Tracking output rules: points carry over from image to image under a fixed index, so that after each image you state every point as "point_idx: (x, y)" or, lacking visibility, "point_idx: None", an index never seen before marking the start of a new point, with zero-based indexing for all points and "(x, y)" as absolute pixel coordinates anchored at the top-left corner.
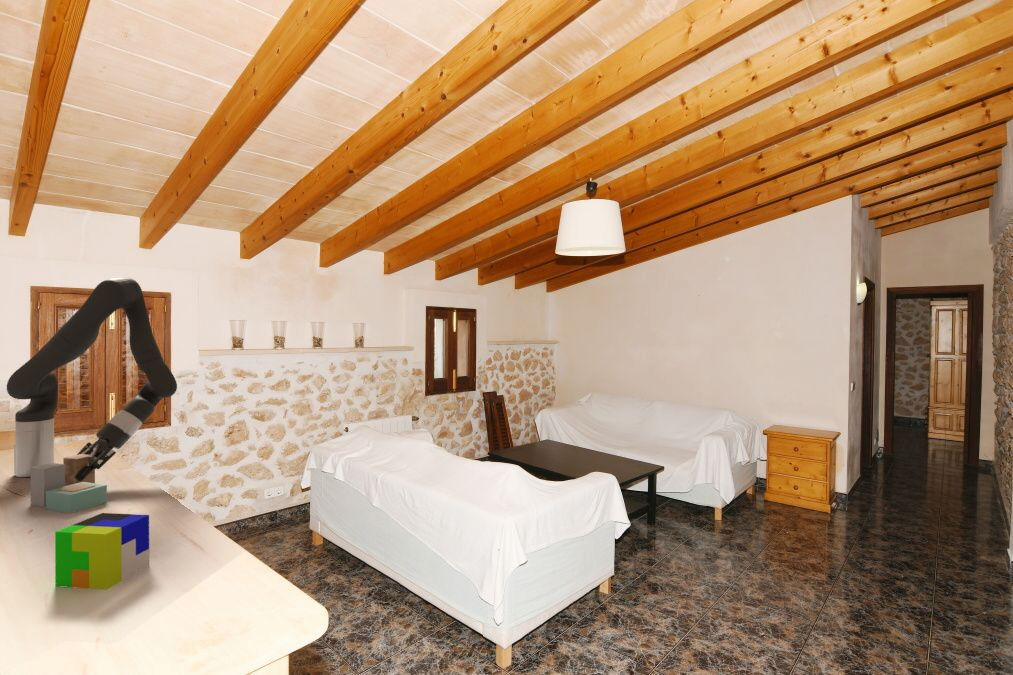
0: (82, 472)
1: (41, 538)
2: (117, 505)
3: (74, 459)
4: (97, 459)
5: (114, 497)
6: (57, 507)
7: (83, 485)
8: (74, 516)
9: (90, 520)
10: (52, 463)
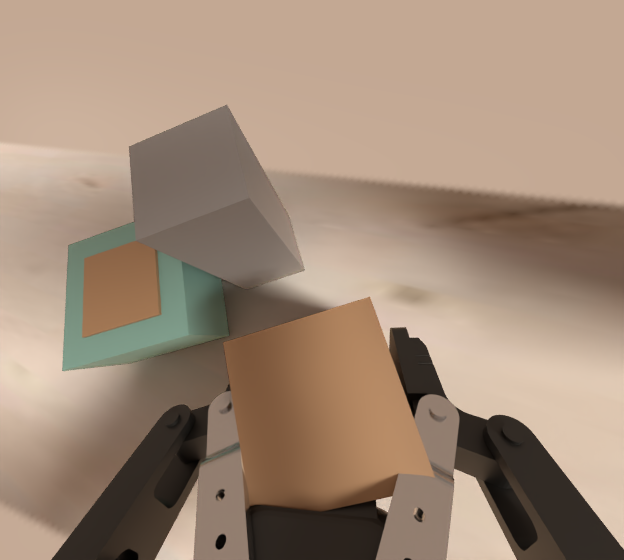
0: None
1: (37, 188)
2: None
3: (246, 336)
4: (129, 459)
5: (155, 404)
6: None
7: (120, 308)
8: None
9: None
10: (227, 198)
